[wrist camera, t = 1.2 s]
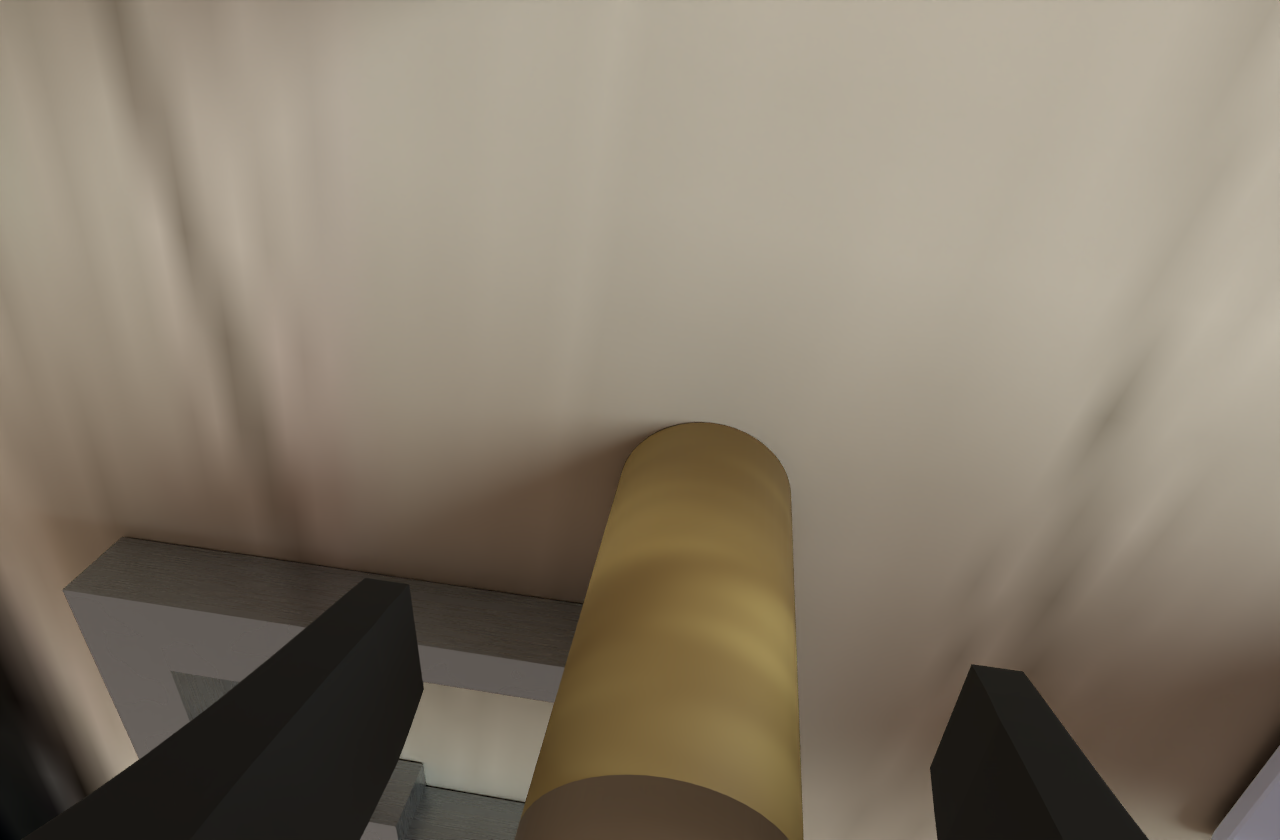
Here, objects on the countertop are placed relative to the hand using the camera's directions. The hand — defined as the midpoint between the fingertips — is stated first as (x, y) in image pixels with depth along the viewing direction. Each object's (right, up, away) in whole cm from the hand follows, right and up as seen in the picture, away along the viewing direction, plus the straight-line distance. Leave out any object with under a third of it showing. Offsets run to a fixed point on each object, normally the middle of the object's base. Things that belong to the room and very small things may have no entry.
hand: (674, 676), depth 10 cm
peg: (+1, +2, +3) cm, 4 cm away
